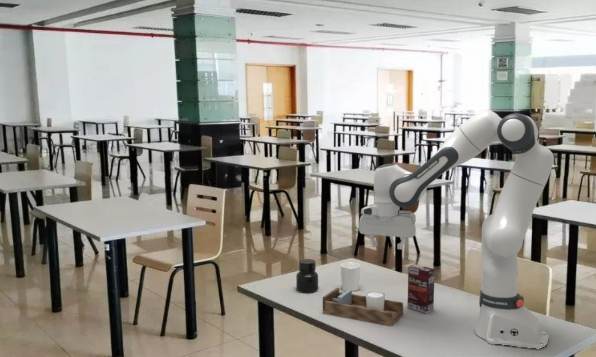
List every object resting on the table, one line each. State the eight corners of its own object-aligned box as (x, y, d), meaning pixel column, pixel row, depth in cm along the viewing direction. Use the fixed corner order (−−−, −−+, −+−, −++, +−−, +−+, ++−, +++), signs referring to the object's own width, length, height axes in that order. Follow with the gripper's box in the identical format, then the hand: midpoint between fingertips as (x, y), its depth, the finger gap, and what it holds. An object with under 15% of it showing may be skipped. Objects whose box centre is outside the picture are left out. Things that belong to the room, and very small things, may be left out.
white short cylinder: (383, 317, 204) (384, 298, 203) (364, 316, 206) (364, 297, 205) (385, 310, 211) (386, 292, 210) (366, 309, 213) (366, 290, 212)
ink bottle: (319, 286, 241) (319, 258, 240) (318, 293, 233) (318, 264, 231) (296, 286, 242) (296, 258, 241) (294, 293, 234) (294, 264, 232)
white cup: (363, 288, 239) (363, 264, 238) (354, 293, 233) (354, 269, 231) (346, 284, 243) (346, 261, 242) (337, 290, 237) (337, 266, 235)
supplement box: (406, 308, 216) (407, 266, 214) (413, 304, 220) (414, 263, 217) (427, 314, 210) (428, 271, 208) (434, 310, 214) (435, 268, 211)
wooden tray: (402, 314, 210) (403, 298, 209) (391, 326, 199) (391, 309, 199) (336, 302, 222) (336, 287, 222) (322, 313, 212) (322, 297, 211)
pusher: (351, 303, 218) (351, 290, 217) (341, 311, 210) (341, 297, 209) (338, 301, 220) (338, 287, 220) (327, 308, 213) (327, 295, 212)
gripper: (418, 209, 205) (418, 248, 207) (363, 206, 214) (364, 243, 216) (412, 213, 199) (413, 252, 201) (356, 209, 209) (357, 247, 211)
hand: (387, 247), depth 209 cm, fingers open, 8 cm apart
